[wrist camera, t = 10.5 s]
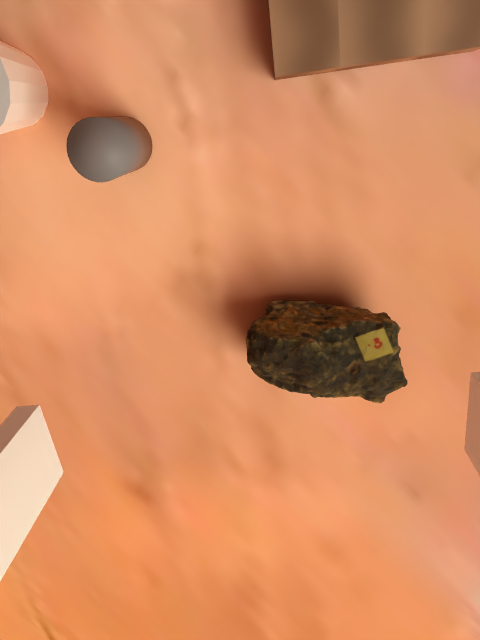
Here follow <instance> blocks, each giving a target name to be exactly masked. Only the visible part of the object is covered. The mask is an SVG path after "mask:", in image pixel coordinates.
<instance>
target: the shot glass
mask: <svg viewBox="0 0 480 640" xmlns="http://www.w3.org/2000/svg"><path fill="white" fill-rule="evenodd" d="M47 105H48V85H47V83H46V80H45V77H44V75H43V72H42V70H41V69H40V68H39V66H38V65H37V64H36V63H35V61H34V60H33V59H32V58H31V57H30V56H28V55H26V54H25V53H23V52H22V51H20V50H19V49H17V48H14V47H12V46H10V45H8V44H6V43H4V42H2V41H0V134H3V133H7V132H10V131H14V130H18V129H22V128H25V127H29V126H32V125H34V124H35V123H36V122H37V121H39V120H40V119H41V118H42V117H43V115H44V113H45V110H46V108H47Z"/></svg>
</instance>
